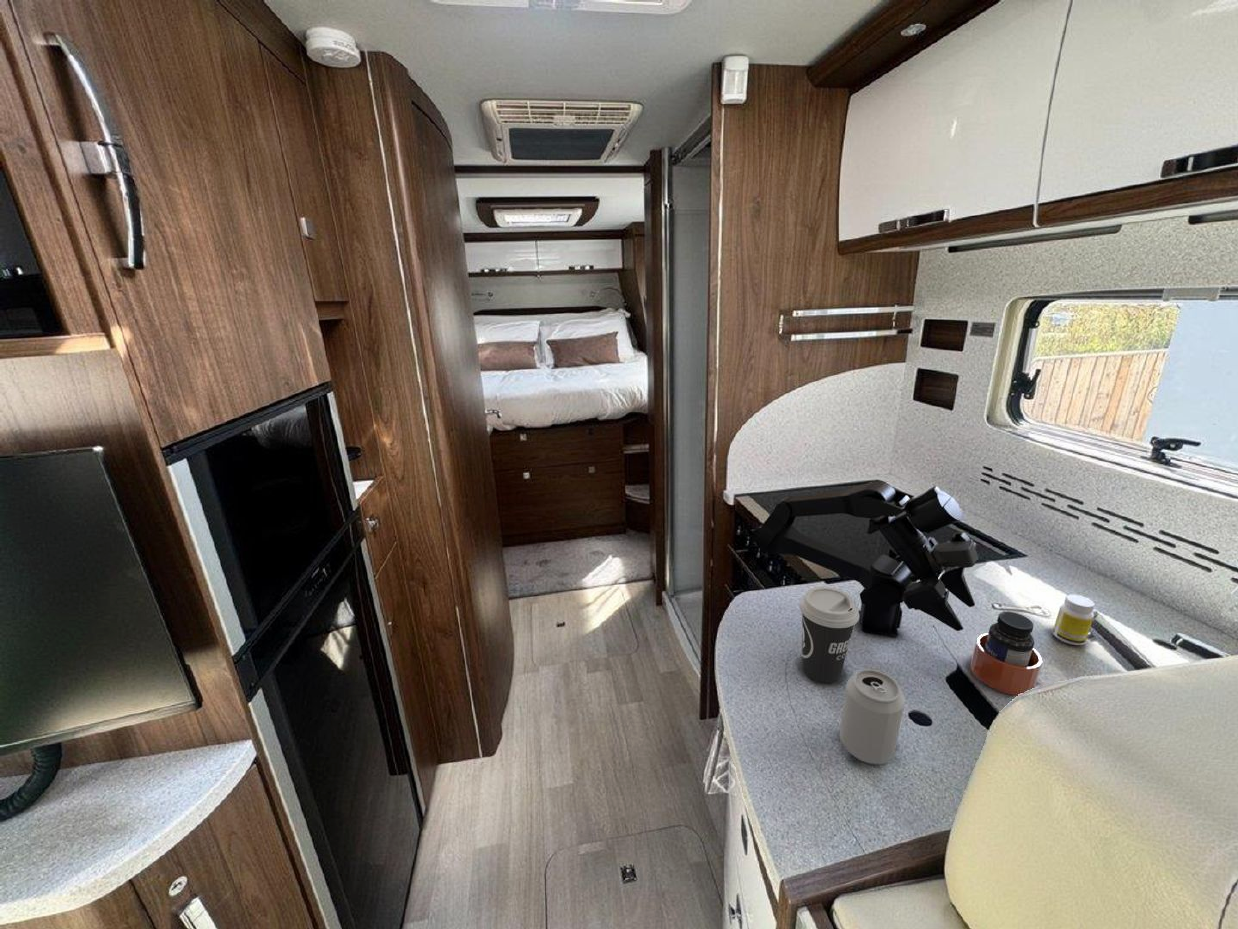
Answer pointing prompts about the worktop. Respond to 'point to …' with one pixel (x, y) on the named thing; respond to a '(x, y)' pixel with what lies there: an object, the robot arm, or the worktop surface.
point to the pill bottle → (1011, 639)
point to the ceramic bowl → (1004, 670)
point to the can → (871, 716)
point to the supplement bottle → (1074, 620)
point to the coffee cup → (826, 632)
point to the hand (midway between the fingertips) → (966, 617)
